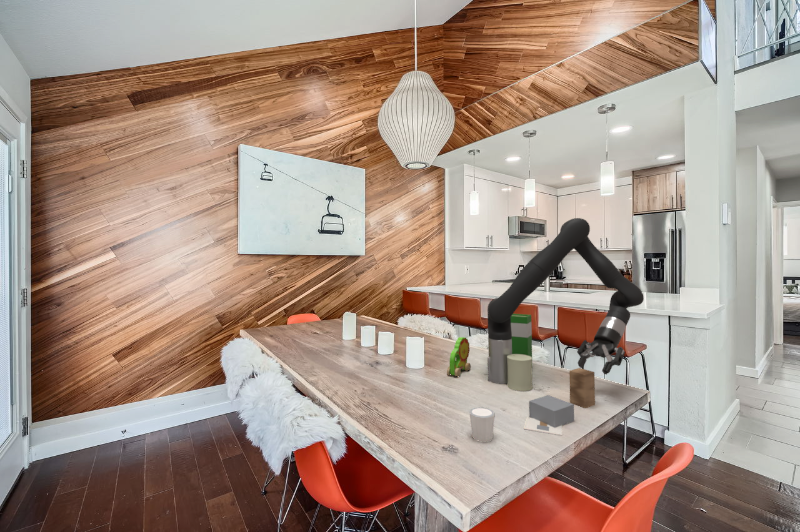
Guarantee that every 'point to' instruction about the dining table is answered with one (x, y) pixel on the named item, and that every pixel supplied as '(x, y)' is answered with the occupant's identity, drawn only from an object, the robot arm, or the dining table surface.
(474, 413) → the shot glass
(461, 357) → the toy lion
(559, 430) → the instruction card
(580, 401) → the walnut brick
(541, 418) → the base block
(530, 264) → the robot arm
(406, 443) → the dining table surface
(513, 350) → the green banded block
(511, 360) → the can
